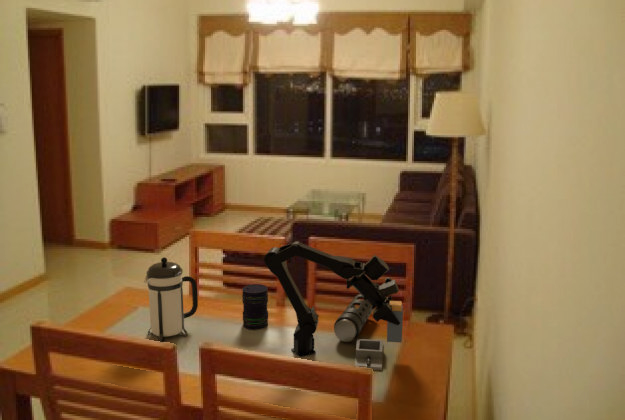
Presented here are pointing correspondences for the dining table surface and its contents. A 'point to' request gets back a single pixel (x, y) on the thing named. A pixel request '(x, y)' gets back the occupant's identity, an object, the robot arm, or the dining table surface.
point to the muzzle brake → (352, 319)
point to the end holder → (369, 353)
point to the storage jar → (255, 306)
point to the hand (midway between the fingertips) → (399, 321)
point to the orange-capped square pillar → (392, 329)
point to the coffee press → (168, 298)
